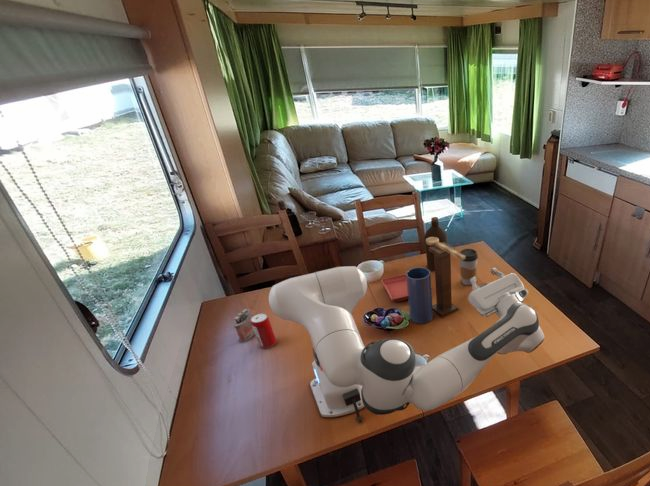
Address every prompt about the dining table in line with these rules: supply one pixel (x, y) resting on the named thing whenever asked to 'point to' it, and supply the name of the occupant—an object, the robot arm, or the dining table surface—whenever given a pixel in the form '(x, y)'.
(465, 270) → the coffee cup
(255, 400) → the dining table surface
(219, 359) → the dining table surface
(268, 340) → the soda can
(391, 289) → the plant saucer
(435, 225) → the olive oil
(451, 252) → the spoon
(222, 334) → the dining table surface
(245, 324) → the lighter
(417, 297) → the crock
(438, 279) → the stand
